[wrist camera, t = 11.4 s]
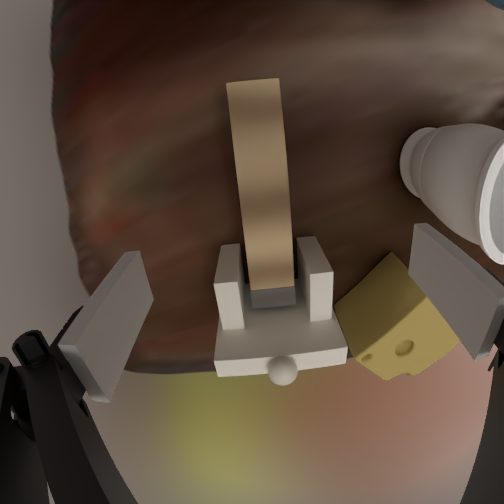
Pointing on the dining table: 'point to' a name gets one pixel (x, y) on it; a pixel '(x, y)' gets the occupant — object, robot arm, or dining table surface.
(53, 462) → the robot arm
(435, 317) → the cheese
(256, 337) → the white u-channel bracket
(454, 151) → the white cup
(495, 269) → the dining table surface
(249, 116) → the rail
